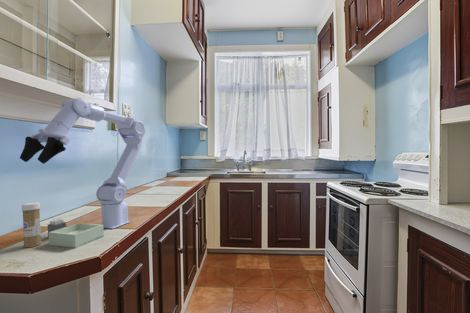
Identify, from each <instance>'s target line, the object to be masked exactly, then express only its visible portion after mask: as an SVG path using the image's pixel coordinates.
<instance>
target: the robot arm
mask: <svg viewBox="0 0 470 313" xmlns="http://www.w3.org/2000/svg"><path fill="white" fill-rule="evenodd" d="M99 104H100V103H99ZM99 104H98V103H97V102H95V103H90V102H88V101H87V99H86V98H81V97H76V98H70V99H66V100H65V101H62V103H61V106H60V110H59V111H58V112H57V114H56V115H55V116H54V117H53V118H52V119H51V120H50V121H49V123H48V124H47V125H46V126H45V127H44V128H39V129H38V132H37V133H35V134H34V133H33V134H32V135H30V136H26V137H25V140H24V147H23V149H22V151H21V154H20V156H19V159H20V160H21V161H23V162H25V163H28V162H29V161H30V160H31V159H32V158H33V157H34V156H35V155H36V154H37V153H39V152H40V151H41V152H40V154H39V156H38V157H37V161H38V162H40V163H41V164H42V165H44V164H46V163H47V162H48V161H50V160H51V159H52V158H54V157H55V156H56V155H58V154H61V153H63V152H65V151H66V149H67V148H66V147H65V146H67V145H68V144H69V143H70V141H71V139H70V138H68V137H67V134H68V133H69V131H70V130H71V129H72V128H73V126H74V125H75V124H76V123H77V122H78V120H79V119H80V118H82V119H86V120H90V121H94V122H101V121H106V122H109V123H113V124H115V129H117V131H118V134H119V135H120V137H121V139H122V141H123V142H124V143H125V144H126V146H125V148H124V149H123V151H122V153H121V155H120V158H119V159H118V162H117V163H116V166H115V167H114V170H112V174H111V175H110V177H108V178H107V179H105V180H104V181H103V183H102V184H101V185H100V186H99V187H98V188H97V189H96V195H95V196H96V199H97V200H98V201H99V203H100V207H101V209H100V210H101V225H103V228H104V229H112V230H113V229H115V228H118V227H121V226H124V225H126V224H128V223H130V222H131V221H130V220H129V210H128V209H129V208H128V204H127V202H125V198H126V194H127V192H126V191H127V189H128V185H127V184H126V182H125V181H126V180H127V178H128V175H129V172H130V171H131V169H132V167H133V165H134V163H135V161H136V159H137V157H138V153H139V152H140V150H141V148H142V143H143V138H144V136H145V134H146V132H147V131H146V128H145V124H144V123H143V122H142V121H141V120H140V119H139V120H138V119H136V118H134V117H130V116H126V115H122V114H118V113H113V112H109V111H105V108H104V107H102V106H100V105H99ZM42 143H45V145H43V144H42ZM64 145H65V146H64Z"/></svg>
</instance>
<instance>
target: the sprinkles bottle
mask: <svg viewBox="0 0 470 313" xmlns="http://www.w3.org/2000/svg"><path fill="white" fill-rule="evenodd" d="M40 208H41V204H40V202H39V201H32V202H26V203H25V202H24V203H22V204H21V211H22V221H23V222H22V232H23V247H24V248H33V247H37V246H39V245H41V244H42V238H41V236H42V235H41V234H42V232H41V216H40V214H41V213H40V210H41V209H40Z"/></svg>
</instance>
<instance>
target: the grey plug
mask: <svg viewBox="0 0 470 313" xmlns="http://www.w3.org/2000/svg"><path fill="white" fill-rule="evenodd" d="M64 227H67V222H66V221H64V219H62V218H57V219H54V220H50V221H49V223H48V224H47V238H48V239H49V233H48V232H51V231H55V230H58V229H61V228H64Z"/></svg>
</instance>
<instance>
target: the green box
mask: <svg viewBox="0 0 470 313" xmlns="http://www.w3.org/2000/svg"><path fill="white" fill-rule="evenodd" d="M104 229H105V228H103V225H102V224H97V223H86V222H85V223H84V222H78V223H75V224H70V225H68V226H67V225H66V227H64V228H61V229H58V230H55V231H51V232H48V231H47V234H48V233H49V238H48V245H49V246H55V247H63V248H72V249H76V248H77V249H78V248H79V247H82V246H84V245H86V244H88V243H91V242H94V241H96V240H98V239H101V238H103V237H104V236H105V234H104Z"/></svg>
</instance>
